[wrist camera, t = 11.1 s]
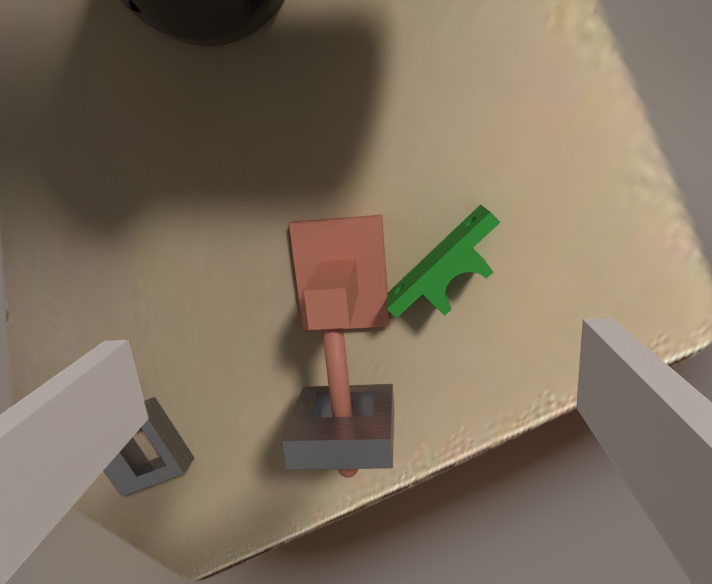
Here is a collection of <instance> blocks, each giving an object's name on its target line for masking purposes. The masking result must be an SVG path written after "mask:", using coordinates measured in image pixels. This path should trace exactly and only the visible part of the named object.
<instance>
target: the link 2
mask: <svg viewBox="0 0 712 584" xmlns="http://www.w3.org/2000/svg"><path fill="white" fill-rule="evenodd" d="M349 389H350V398H351V408H352V417H332V409H331V400H330V392H329V386H315V387H303V389H302V392H301V394H300V397H299V399H298V402H297V404H296V407H295V409H294V412H293V414H292V417H291V419H290V422H289V424H288V427H287V429H286V432H285V434H284V437H283V439H282V446H283V452H284V458H285V465H286V470H292V469H373V468H393V440H394V397H393V384H375V385H349Z"/></svg>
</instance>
